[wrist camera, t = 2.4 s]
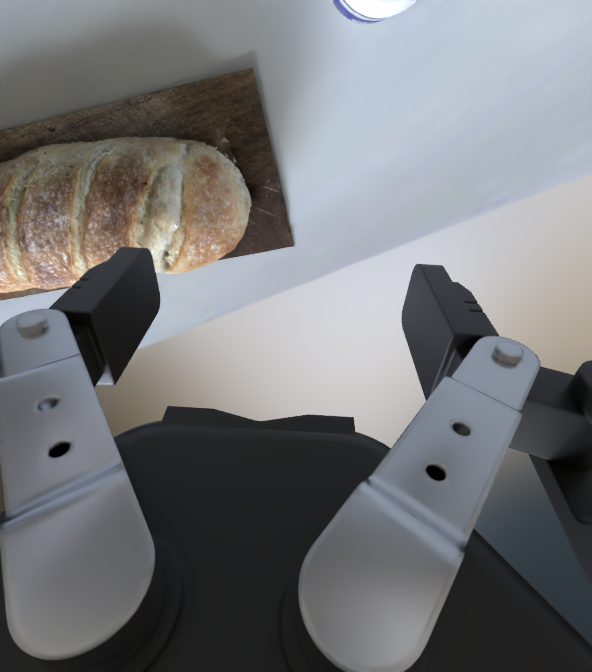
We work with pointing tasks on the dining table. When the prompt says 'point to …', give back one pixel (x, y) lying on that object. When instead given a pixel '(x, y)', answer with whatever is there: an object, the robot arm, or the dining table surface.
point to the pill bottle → (371, 9)
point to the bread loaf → (140, 185)
